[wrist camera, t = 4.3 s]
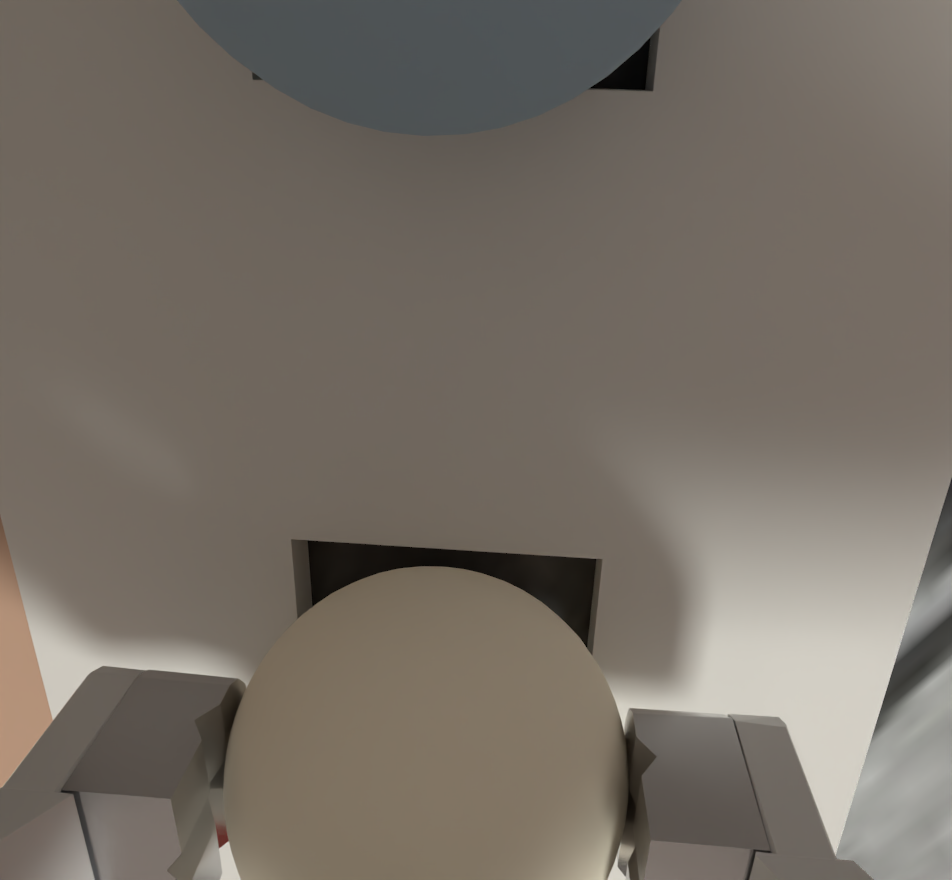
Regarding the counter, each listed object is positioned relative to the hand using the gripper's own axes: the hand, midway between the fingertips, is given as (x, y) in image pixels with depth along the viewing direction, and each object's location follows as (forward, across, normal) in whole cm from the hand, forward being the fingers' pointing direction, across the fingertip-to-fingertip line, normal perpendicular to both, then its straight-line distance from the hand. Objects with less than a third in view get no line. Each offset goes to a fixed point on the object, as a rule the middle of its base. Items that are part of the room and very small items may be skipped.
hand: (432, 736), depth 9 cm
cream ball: (+2, 0, 0) cm, 2 cm away
